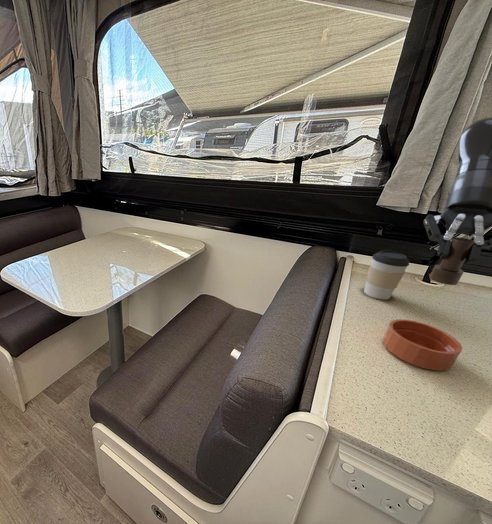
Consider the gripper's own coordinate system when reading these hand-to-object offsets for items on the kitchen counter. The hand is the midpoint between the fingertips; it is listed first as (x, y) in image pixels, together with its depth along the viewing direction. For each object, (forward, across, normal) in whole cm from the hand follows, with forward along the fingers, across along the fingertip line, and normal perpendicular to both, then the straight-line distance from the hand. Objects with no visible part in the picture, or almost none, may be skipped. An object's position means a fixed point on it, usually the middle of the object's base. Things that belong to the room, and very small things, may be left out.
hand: (456, 259), depth 59 cm
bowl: (+19, 0, +14) cm, 24 cm away
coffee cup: (-1, -8, +36) cm, 36 cm away
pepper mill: (+3, 0, +6) cm, 6 cm away
